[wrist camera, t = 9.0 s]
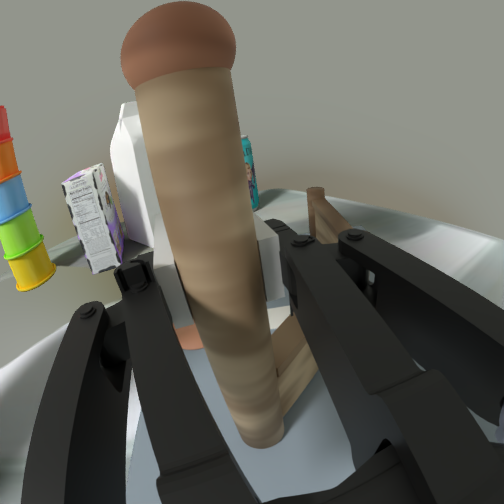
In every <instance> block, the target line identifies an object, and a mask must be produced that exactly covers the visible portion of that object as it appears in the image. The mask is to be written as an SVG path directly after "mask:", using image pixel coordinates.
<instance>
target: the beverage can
mask: <svg viewBox="0 0 504 504" xmlns="http://www.w3.org/2000/svg"><path fill="white" fill-rule="evenodd" d="M247 137H248V136H247V135H242V136H241V140H242V147H243V153H244V160H245V166H246V172H247V179H248V185H249V192H250V198H251V205H252V211H253V212H254V211H256V209H257V207H258V203H259V197H258V190H257V184H256V178H255V177H256V176H255V170H254V163H253V156H252V150H251V143H250V141H249V140H248V138H247Z"/></svg>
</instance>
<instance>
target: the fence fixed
mask: <svg viewBox="0 0 504 504" xmlns="http://www.w3.org/2000/svg"><path fill="white" fill-rule="evenodd" d="M307 201H308V214H309V229H310V236H314V237H315V238H317V239H318V240H319V241H320V242H321V244H331V243H338V234H339V233H340V232H342V231H344V230H348V229H353V228H352V226H351V225H350V224H349V223H348V222H347V221H346V220H345V219H344V218H343V217H342V216H341V215H340V214H339V213H338V211H337V210H336V209H335V208H334V207H333V206H332V205H331V204H330V203H329V202H328V201H327V200H326V199H325V195H324V188H322V187H311V188H308V189H307ZM364 231H365V230H364ZM367 232H368V231H367ZM369 233H370V232H369ZM369 274H370V271H369Z"/></svg>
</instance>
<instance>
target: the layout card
mask: <svg viewBox="0 0 504 504" xmlns="http://www.w3.org/2000/svg"><path fill="white" fill-rule="evenodd" d="M352 228H356V229H360V230H365V229H364V228H363V227H362V226H354V227H352ZM365 231H366V230H365ZM299 235H310V233H305V234H299ZM374 278H375V274H374V273H372V272H371V271H370V274H369V281H371V282H373V283H374ZM284 292H285V297H282V298H279V299H276V300H273V301H270V302H267V301H266V304H267V311H268V318H269V325H270V331H271V335H272V333H273V332H274V331H275V330H276V329H277V328H278V327H279V326H280V325H281V324H282V322H283V321H284V320H285V319H286V318H287V317H288V316H289V315H290V302H289V291H288V290H287V288H286V287H285V286H284ZM193 320H194V319H193ZM173 327H174V330H175V332H176V335H177V337H178V339H179V342H180V344H181V347H182V349H183V352H184V354H185V357H186V359H187V361H188V364H189V366H190V368H191V371H192V373H193V375H194V377H195V380H196V382H197V384H198V386H199V388H200V391H201V393H202V395H203V397H204V399H205V401H206V403H207V405H208V407H209V410H210V412H211V414H212V416H213V418H214V420H215V422H216V424H217V426H218V428H219V429H220V431H221V433H222V435H223V437H224V439H225V441H226V443H227V445H228V446H229V448H230V450H231V452H232V454H233V456H234V457H235V459H236V461H237V463H238V464H239V466H240V468H241V470H242V471H243V473H244V475H245V476H246V478H247V480H248V481H249V483H250V485H251V486H252V488H253V489H254V491H255V493H256V494H257V496H258V497H259V499H260V500H261V502H262V503H264V502H267V501H270V500H273V499H276V498H279V497H288V496H295V495H302V494H308V493H313V492H319V491H324V490H328V489H332V488H334V487H336V486H338V485H339V484H340V483H341V482H343V481H344V480H345V479H346V478H348V477H349V476H350V475H351V474H352V473H354V472H355V471H356V470H355V467H354V464H353V460H352V453H351V446H350V442H349V439H348V437H347V435H346V432H345V430H344V427H343V425H342V423H341V420H340V418H339V415H338V413H337V411H336V408H335V406H334V404H333V401H332V399H331V396H330V394H329V392H328V389H327V387H326V385H325V382H324V380H323V378H322V375H321V373H320V371H319V369H318V371H317V372H316V374H315V375H314V376H313V378H312V379H311V381H310V382H309V384H308V385H307V386H306V388H305V389H304V390H303V392H302V393H301V394H300V396H299V397H298V399H297V400H296V401H295V403H294V404H293V405H292V406H291V408H290V409H289V410H288V412H287V413H286V414H285V415H284V417H283V422H284V434H283V437H282V439H281V440H280V441H279V442H278V443H277V444H276V445H274V446H272V447H269V448H266V449H256V448H252V447H250V446H248V445H247V444H245V443H244V441H243V440H242V438H241V436H240V434H239V432H238V430H237V427H236V425H235V423H234V421H233V418H232V416H231V414H230V411H229V409H228V407H227V404H226V402H225V400H224V397H223V395H222V393H221V390H220V388H219V385H218V383H217V380H216V378H215V375H214V373H213V370H212V368H211V365H210V362H209V360H208V357H207V355H206V352H205V349H204V347H203V344H202V341H201V338H200V336H199V333H198V330H197V327H196V325H195V322H194V324H193V325H189V326H185V327H182V328H178V329H176V328H175V326H174V323H173ZM414 362H415V363H416V365H417V366H418V367H419V368H420V369H421V370H423V371H426V370H425V369H424V368H423V367H421V366H420V365H419V364H418V363H417V362H416V361H414ZM466 407H467V406H466ZM467 408H468V407H467ZM468 410H469V411H470V412H471V414H472V415H473V417H474V418H475V420H476V421H477V423H478V425H479V426H480V428H481V429H482V431H483V432H484V434H485V435H486V437H487V439H488V440H489V442H495V443H500V442H498V441H497V440H496V437H495V432H496V430H497V428H498V426H496V425H494V424H491V423H489V422H487V421H486V420H484V419H483V418H481V417H479V416H478V415H476V414H475V413H474V412H473V411H471V410H470V409H469V408H468ZM159 476H160V471H159V467H158V464H157V461H156V458H155V455H154V451H153V448H152V445H151V442H150V438H149V435H148V431H147V428H146V424H145V420H144V416H143V413H142V409H141V412H140V417H139V421H138V426H137V431H136V436H135V441H134V446H133V451H132V457H131V462H130V468H129V474H128V480H127V486H126V504H162V503H161V501H160V498H159V495H158V491H157V488H156V479H157V478H158V477H159Z"/></svg>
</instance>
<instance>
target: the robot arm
mask: <svg viewBox="0 0 504 504" xmlns="http://www.w3.org/2000/svg"><path fill="white" fill-rule="evenodd" d="M253 218H254V224H255V231H256V237H257V244H258V251H259V257H260V264H261V270H262V277H263V284H264V291H265V297H266V301H267V302H270V301H273V300H276V299H279V298H282V297H285V292H284V286H285V287H286V288H287V290H288V291H289V302H290V314H291V316H293V312H294V313H295V315H296V318H297V320H298V322H299V324H300V327H301V329H302V331H303V334H304V336H305V338H306V341H307V343H308V345H309V347H310V350H311V352H312V354H313V357H314V359H315V361H316V364H317V366H318V368H319V371H320V373H321V375H322V378H323V380H324V382H325V385H326V387H327V389H328V392H329V394H330V396H331V399H332V401H333V404H334V406H335V408H336V411H337V413H338V415H339V418H340V420H341V423H342V425H343V427H344V430H345V432H346V435H347V437H348V439H349V442H350V446H351V453H352V460H353V464H354V467H355V470H356V471H355V472H354V473H352V474H351V475H350V476H349V477H348V478H346V479H345V480H344V481H343V482H341V483H340V484H339V485H338V486H336V487H334V488H332V489H328V490H324V491H319V492H313V493H308V494H302V495H295V496H288V497H279V498H276V499H273V500H270V501H267V502H264V503H262V502H261V500H260V499H259V497H258V496H257V494H256V493H255V491H254V489H253V488H252V486H251V485H250V483H249V481H248V480H247V478H246V476H245V475H244V473H243V471H242V470H241V468H240V466H239V464H238V463H237V461H236V459H235V457H234V456H233V454H232V452H231V450H230V448H229V446H228V445H227V443H226V441H225V439H224V437H223V435H222V433H221V431H220V429H219V428H218V426H217V424H216V422H215V420H214V418H213V416H212V414H211V412H210V410H209V407H208V405H207V403H206V401H205V399H204V397H203V395H202V393H201V391H200V388H199V386H198V384H197V382H196V380H195V377H194V375H193V373H192V371H191V368H190V366H189V364H188V361H187V359H186V357H185V354H184V352H183V349H182V347H181V344H180V342H179V339H178V337H177V335H176V332H175V330H174V327H173V323H174V326H175V328H176V329H178V328H182V327H185V326H189V325H193V324H194V320H193V316H192V313H191V310H190V307H189V304H188V301H187V298H186V295H185V292H184V289H183V286H182V283H181V280H180V277H179V273H178V270H177V267H176V264H175V260H174V257H173V254H172V250H171V247H170V243H169V240H168V236H167V233H166V229H165V226H164V222H163V218H162V215H161V213H158V214H155V228H154V251H152V252H149V253H145V254H142V255H138V256H137V258H135V259H131V260H128V261H126V262H124V263H122V264H121V265H119V266H118V267H117V268H116V269H115V271H114V276H115V279H116V281H117V284H118V286H119V288H120V291H121V293H122V300H121V301H120V302H118V303H116V304H115V305H113V306H111V307H109V308H106V309H105V307H104V305H103V304H102V303H101V302H98V301H93V302H89V303H86V304H84V305H82V306H80V308H79V309H77V311H75V313H74V314H73V316H72V319H71V321H70V323H69V325H68V328H67V330H66V332H65V335H64V337H63V340H62V342H61V345H60V347H59V350H58V352H57V355H56V358H55V360H54V363H53V366H52V369H51V372H50V375H49V377H48V380H47V383H46V387H45V390H44V393H43V396H42V399H41V403H40V406H39V410H38V413H37V417H36V421H35V425H34V429H33V433H32V437H31V442H30V446H29V451H28V456H27V462H26V467H25V473H24V480H23V488H22V497H21V504H126V480H125V464H126V431H127V414H128V401H129V390H130V380H131V371H132V367H133V373H134V378H135V382H136V387H137V392H138V396H139V400H140V405H141V409H142V413H143V416H144V420H145V424H146V428H147V431H148V435H149V438H150V442H151V445H152V448H153V451H154V455H155V458H156V461H157V464H158V467H159V471H160V476H159V477H158V478H157V479H156V488H157V491H158V495H159V498H160V501H161V503H162V504H504V310H503V309H501V308H500V307H498V306H497V305H495V304H494V303H492V302H491V301H489V300H487V299H486V298H484V297H483V296H481V295H480V294H478V293H476V292H475V291H473V290H471V289H470V288H468V287H467V286H465V285H463V284H462V283H460V282H458V281H457V280H455V279H453V278H452V277H450V276H448V275H446V274H445V273H443V272H441V271H440V270H438V269H436V268H434V267H432V266H431V265H429V264H427V263H425V262H424V261H422V260H420V259H418V258H416V257H415V256H413V255H411V254H409V253H407V252H405V251H403V250H402V249H400V248H398V247H396V246H394V245H392V244H390V243H388V242H386V241H384V240H382V239H381V238H379V237H377V236H375V235H373V234H371V233H369V232H367V231H364V230H360V229H356V228H353V229H348V230H344V231H342V232H340V233H339V234H338V243H331V244H321V242H320V241H319V240H318V239H317V238H315V237H314V236H310V235H298V234H297V233H296V232H294V231H293V230H292V229H290V227H288V226H286V224H285V223H283V222H282V221H280V220H276V219H270V220H266V221H263V220H261V219H260V218H259V217H258V216H257V215H256V214H255V213H254V212H253ZM369 271H371V272H372V273H374V274H375V278H374V283H373V282H371V281H369ZM414 361H416V362H417V363H418V364H419V365H420V366H421V367H423V368H424V369H425V370H426V371H423V370H421V369H420V368H419V367H418V366H417V365H416V363H415V362H414ZM466 406H467V407H468V408H469V409H470V410H471V411H473V412H474V413H475V414H476V415H478V416H479V417H481V418H483V419H484V420H486V421H487V422H489V423H491V424H494V425H496V426H498V428H497V430H496V432H495V437H496V440H497V441H498V442H500V443H495V442H489V440H488V439H487V437H486V435H485V434H484V432H483V431H482V429H481V428H480V426H479V425H478V423H477V421H476V420H475V418H474V417H473V415H472V414H471V412H470V411H469V410H468V408H467V407H466Z"/></svg>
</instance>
